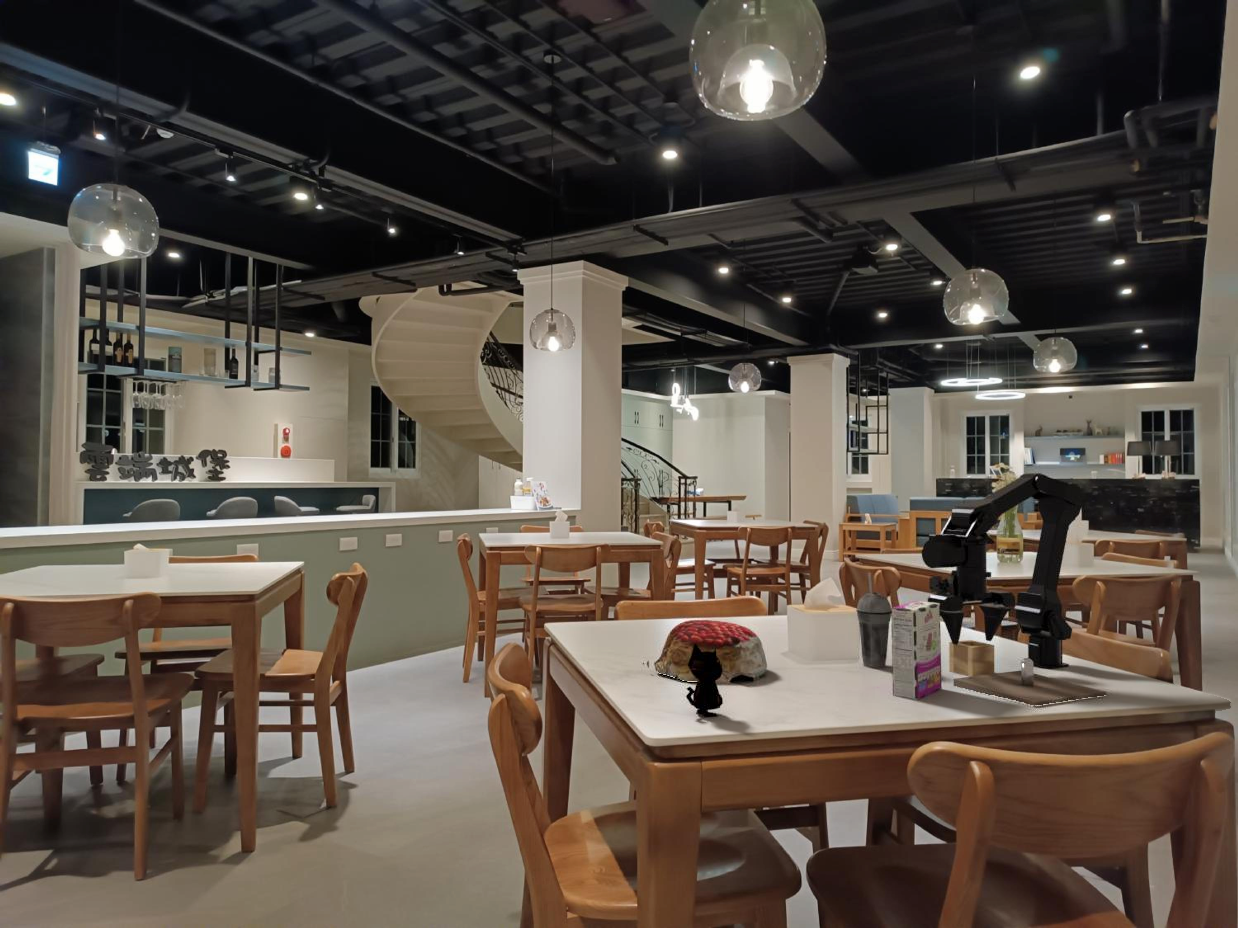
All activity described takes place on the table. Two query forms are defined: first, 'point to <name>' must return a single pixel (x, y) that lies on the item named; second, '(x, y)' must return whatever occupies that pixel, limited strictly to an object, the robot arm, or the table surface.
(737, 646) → the cake
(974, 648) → the oak collar
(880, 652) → the beverage cup
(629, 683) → the table surface
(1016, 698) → the pin board
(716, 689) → the cat figurine
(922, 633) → the candy bar box
